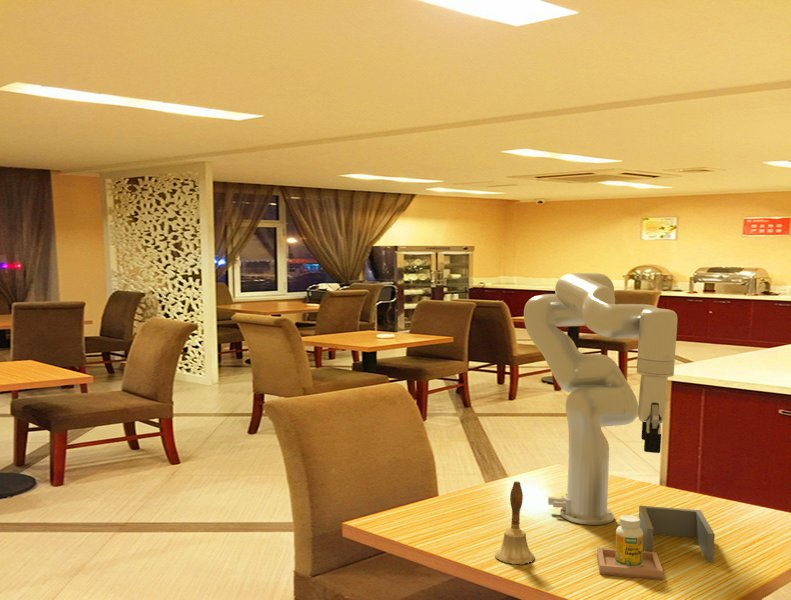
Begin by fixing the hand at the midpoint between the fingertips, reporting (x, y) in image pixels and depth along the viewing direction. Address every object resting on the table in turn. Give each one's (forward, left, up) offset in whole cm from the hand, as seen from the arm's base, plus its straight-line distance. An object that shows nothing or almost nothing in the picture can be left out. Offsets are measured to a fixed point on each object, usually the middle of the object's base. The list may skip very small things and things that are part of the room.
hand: (650, 445), depth 168 cm
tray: (-5, -10, -23) cm, 26 cm away
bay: (+6, +4, -23) cm, 24 cm away
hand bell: (-28, -10, -23) cm, 38 cm away
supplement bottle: (-5, -10, -23) cm, 25 cm away
